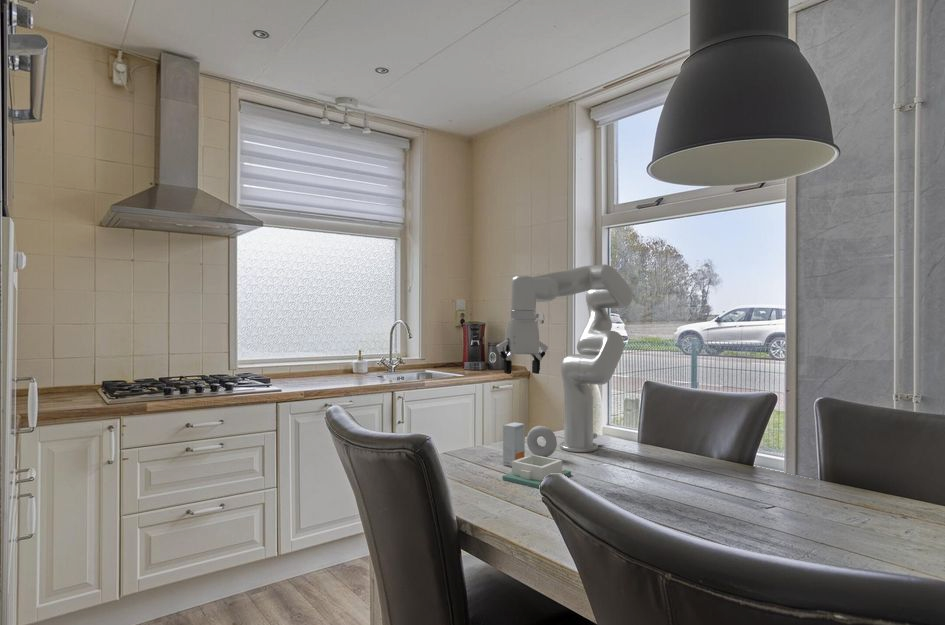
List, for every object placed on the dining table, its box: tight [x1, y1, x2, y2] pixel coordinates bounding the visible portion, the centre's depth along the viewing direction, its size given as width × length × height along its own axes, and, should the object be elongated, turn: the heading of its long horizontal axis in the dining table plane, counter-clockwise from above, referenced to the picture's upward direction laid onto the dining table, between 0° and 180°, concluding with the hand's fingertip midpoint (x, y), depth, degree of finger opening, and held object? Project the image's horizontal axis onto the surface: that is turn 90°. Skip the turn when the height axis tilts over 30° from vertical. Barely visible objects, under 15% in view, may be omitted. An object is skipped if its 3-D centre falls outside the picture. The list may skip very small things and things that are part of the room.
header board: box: [502, 454, 572, 489], centre depth 152 cm, size 16×12×4 cm
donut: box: [526, 425, 558, 458], centre depth 173 cm, size 10×4×10 cm, turn 61°
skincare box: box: [502, 422, 526, 467], centre depth 166 cm, size 6×4×12 cm
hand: (521, 373), depth 166 cm, fingers open, 9 cm apart
